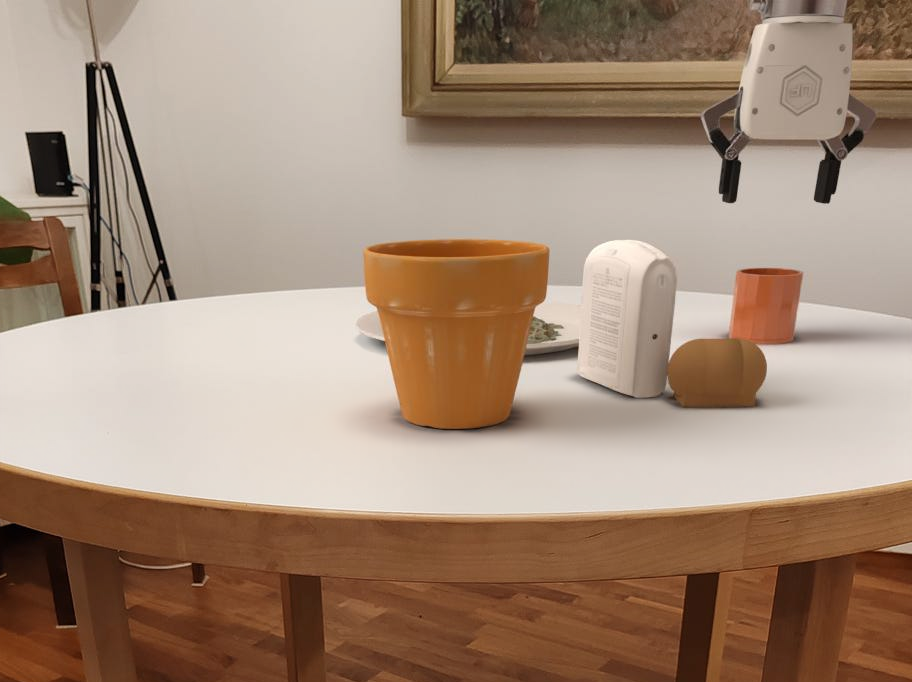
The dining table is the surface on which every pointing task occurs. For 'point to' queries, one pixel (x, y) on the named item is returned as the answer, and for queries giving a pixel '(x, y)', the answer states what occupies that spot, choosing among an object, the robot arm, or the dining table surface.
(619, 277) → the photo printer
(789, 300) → the pot
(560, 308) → the plated food
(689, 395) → the bread loaf
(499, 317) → the flower pot
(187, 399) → the dining table surface
